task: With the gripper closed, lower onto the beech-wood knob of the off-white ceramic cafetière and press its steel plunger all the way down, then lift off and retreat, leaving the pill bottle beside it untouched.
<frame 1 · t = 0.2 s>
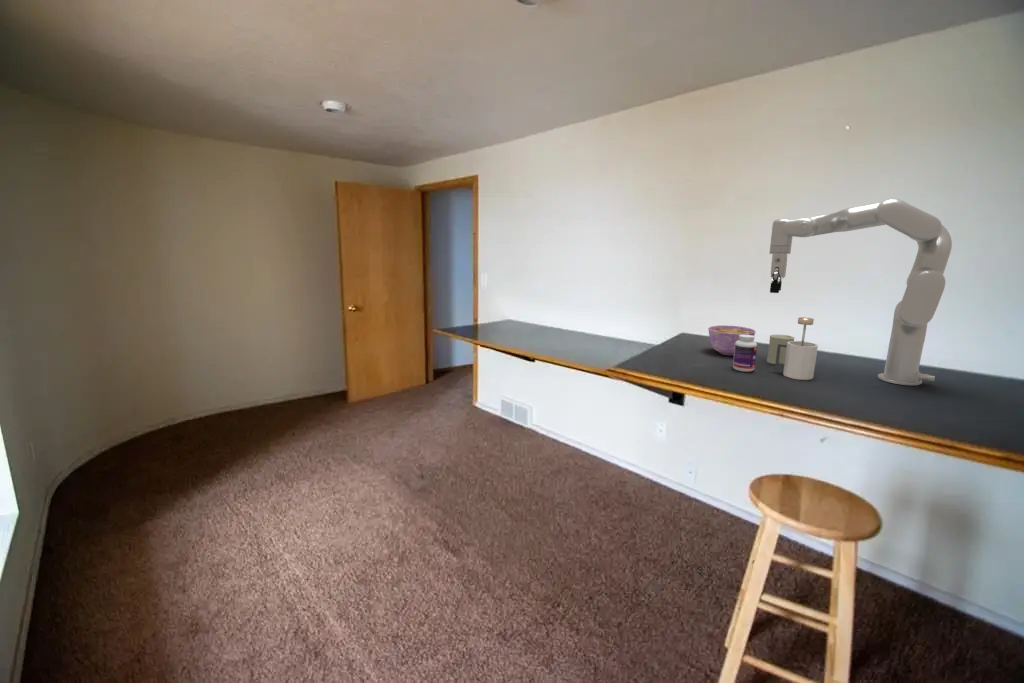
hand: (775, 291, 188), 31 cm above the counter, fingers open, 9 cm apart
plunger: (803, 336, 172), point 16 cm above the counter, slide at 0.0 cm
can: (778, 362, 195), on the counter
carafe: (798, 376, 176), on the counter
bowl of food: (729, 353, 211), on the counter
pill bottle: (743, 370, 185), on the counter
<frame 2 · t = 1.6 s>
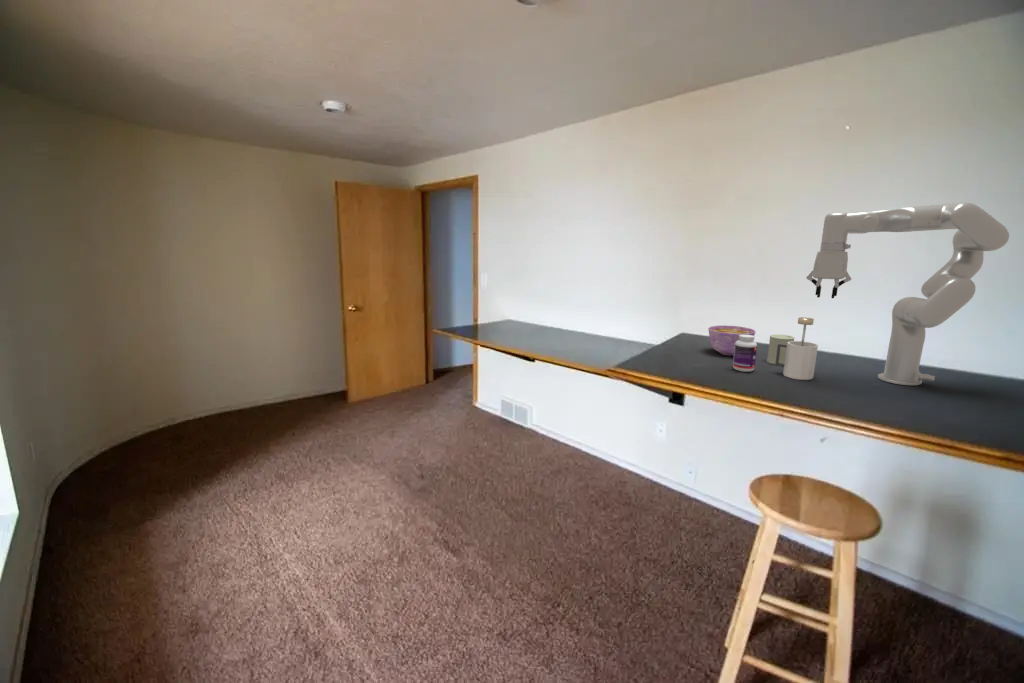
hand: (825, 297, 168), 31 cm above the counter, fingers open, 3 cm apart
nothing on the counter moved.
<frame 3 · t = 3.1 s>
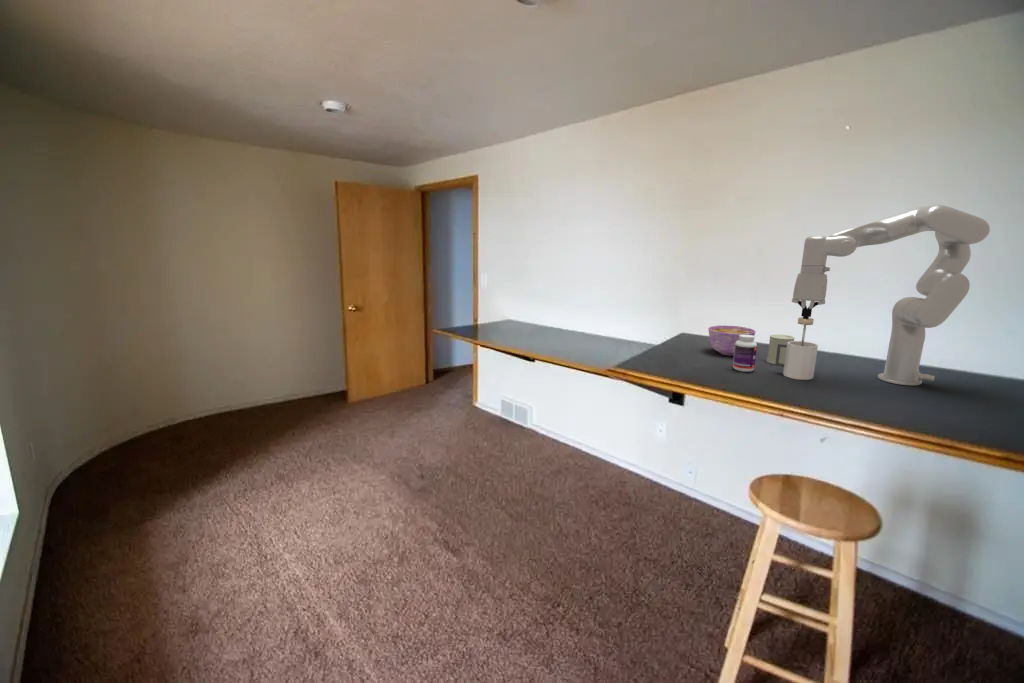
hand: (805, 318, 170), 23 cm above the counter, fingers closed
plunger: (803, 336, 172), point 16 cm above the counter, slide at 0.0 cm, touching gripper
everything else where it was.
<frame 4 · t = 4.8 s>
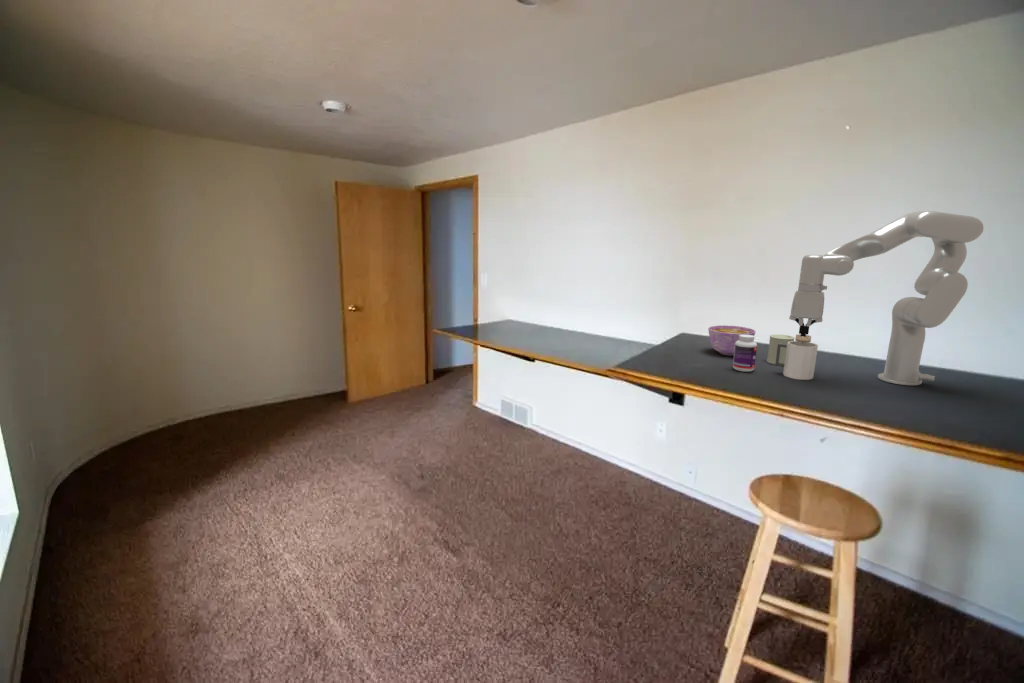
hand: (803, 335, 172), 16 cm above the counter, fingers closed
plunger: (801, 353, 174), point 9 cm above the counter, slide at 6.8 cm, touching gripper
everything else where it was.
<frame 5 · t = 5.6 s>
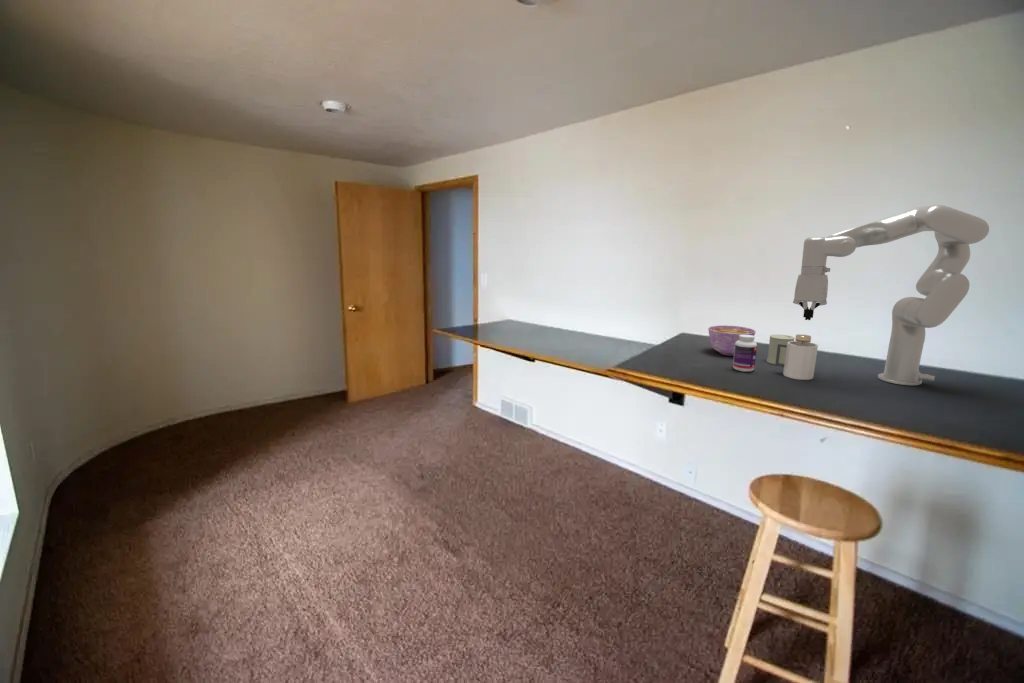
hand: (807, 319, 170), 23 cm above the counter, fingers closed
plunger: (801, 353, 174), point 9 cm above the counter, slide at 6.8 cm
everything else where it was.
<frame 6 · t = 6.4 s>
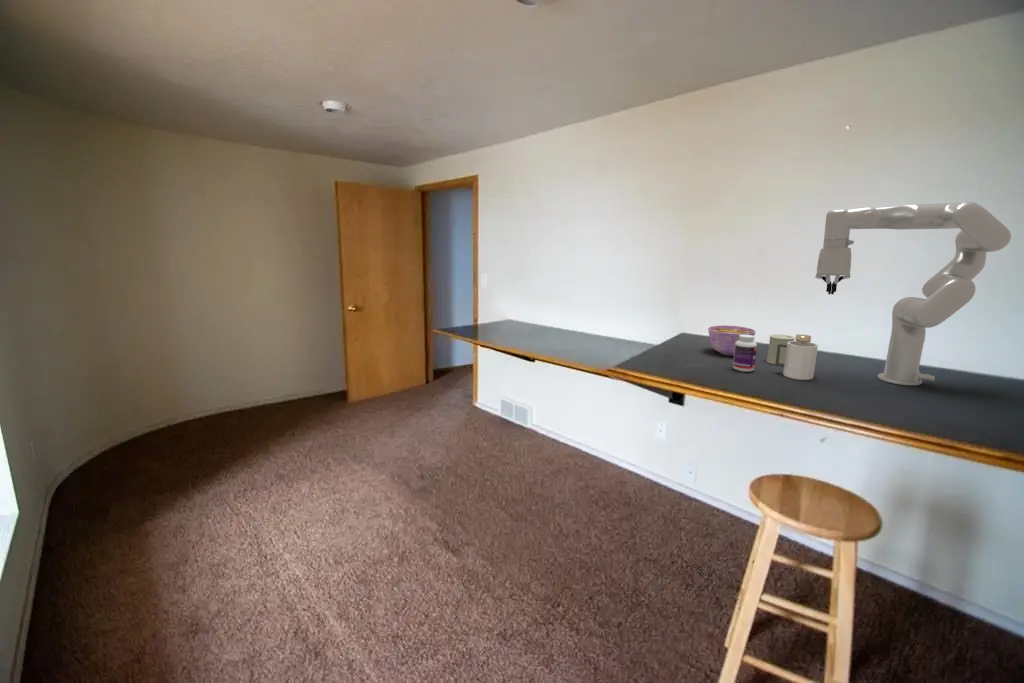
hand: (830, 293, 168), 32 cm above the counter, fingers closed
nothing on the counter moved.
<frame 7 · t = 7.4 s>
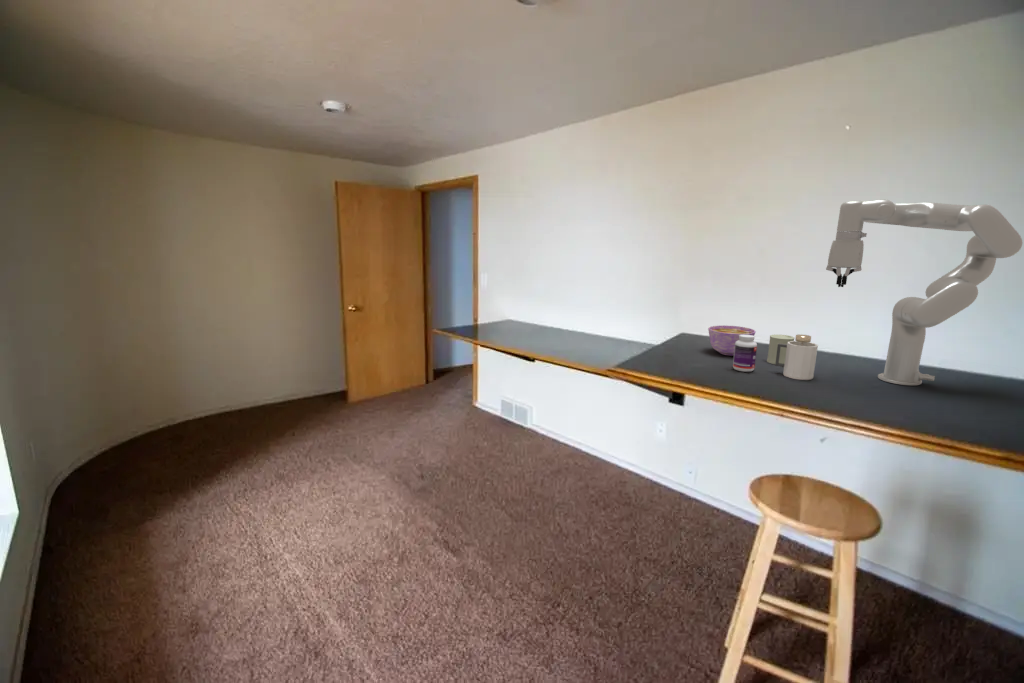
hand: (840, 286, 168), 35 cm above the counter, fingers closed
nothing on the counter moved.
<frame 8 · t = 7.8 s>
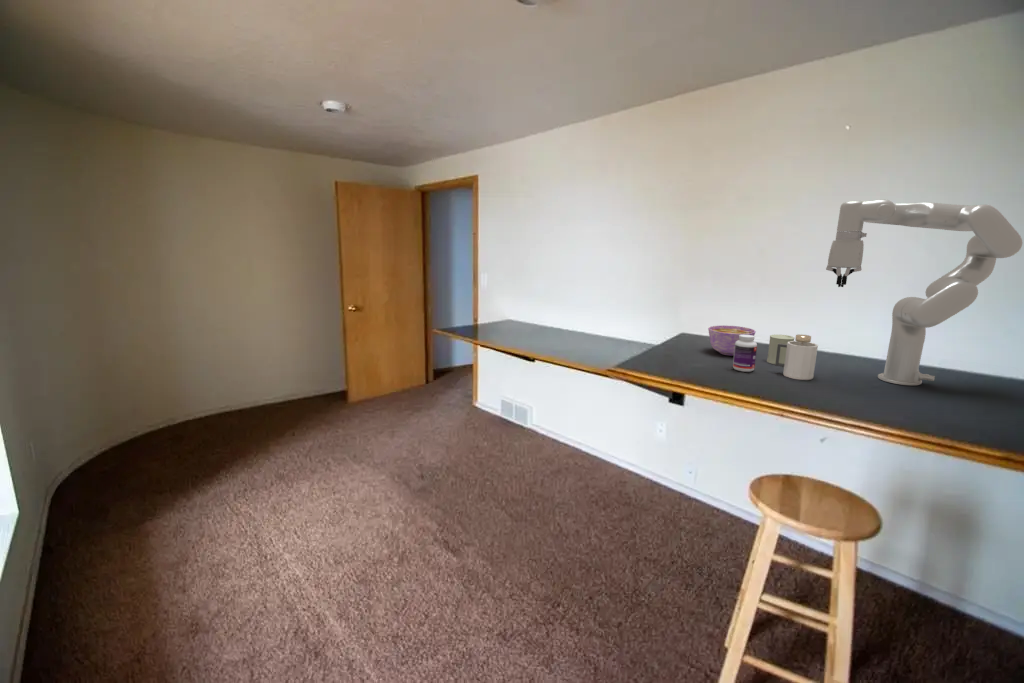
hand: (840, 286, 168), 35 cm above the counter, fingers closed
nothing on the counter moved.
at the end: plunger slide at 6.8 cm; pill bottle moved 0.2 cm from its start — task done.
